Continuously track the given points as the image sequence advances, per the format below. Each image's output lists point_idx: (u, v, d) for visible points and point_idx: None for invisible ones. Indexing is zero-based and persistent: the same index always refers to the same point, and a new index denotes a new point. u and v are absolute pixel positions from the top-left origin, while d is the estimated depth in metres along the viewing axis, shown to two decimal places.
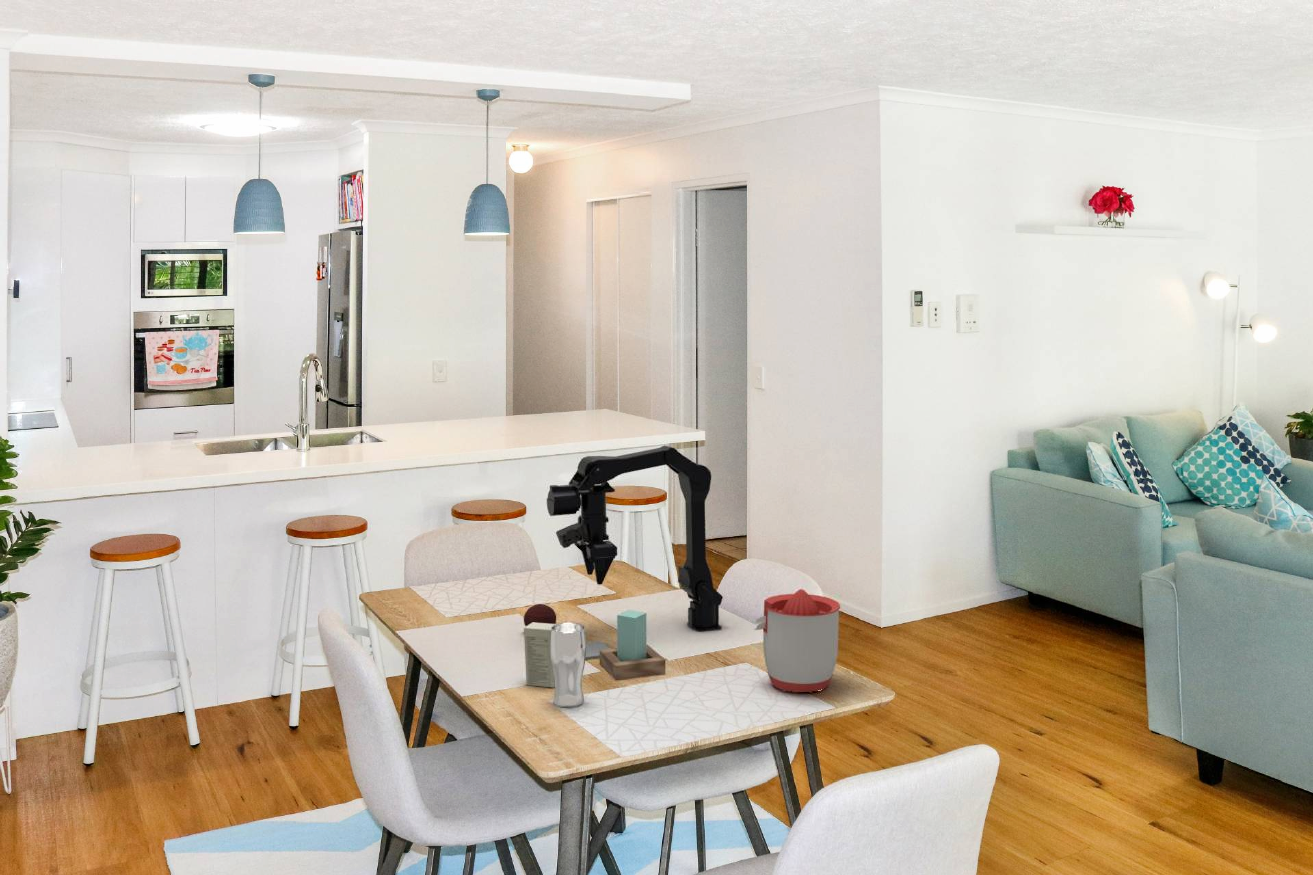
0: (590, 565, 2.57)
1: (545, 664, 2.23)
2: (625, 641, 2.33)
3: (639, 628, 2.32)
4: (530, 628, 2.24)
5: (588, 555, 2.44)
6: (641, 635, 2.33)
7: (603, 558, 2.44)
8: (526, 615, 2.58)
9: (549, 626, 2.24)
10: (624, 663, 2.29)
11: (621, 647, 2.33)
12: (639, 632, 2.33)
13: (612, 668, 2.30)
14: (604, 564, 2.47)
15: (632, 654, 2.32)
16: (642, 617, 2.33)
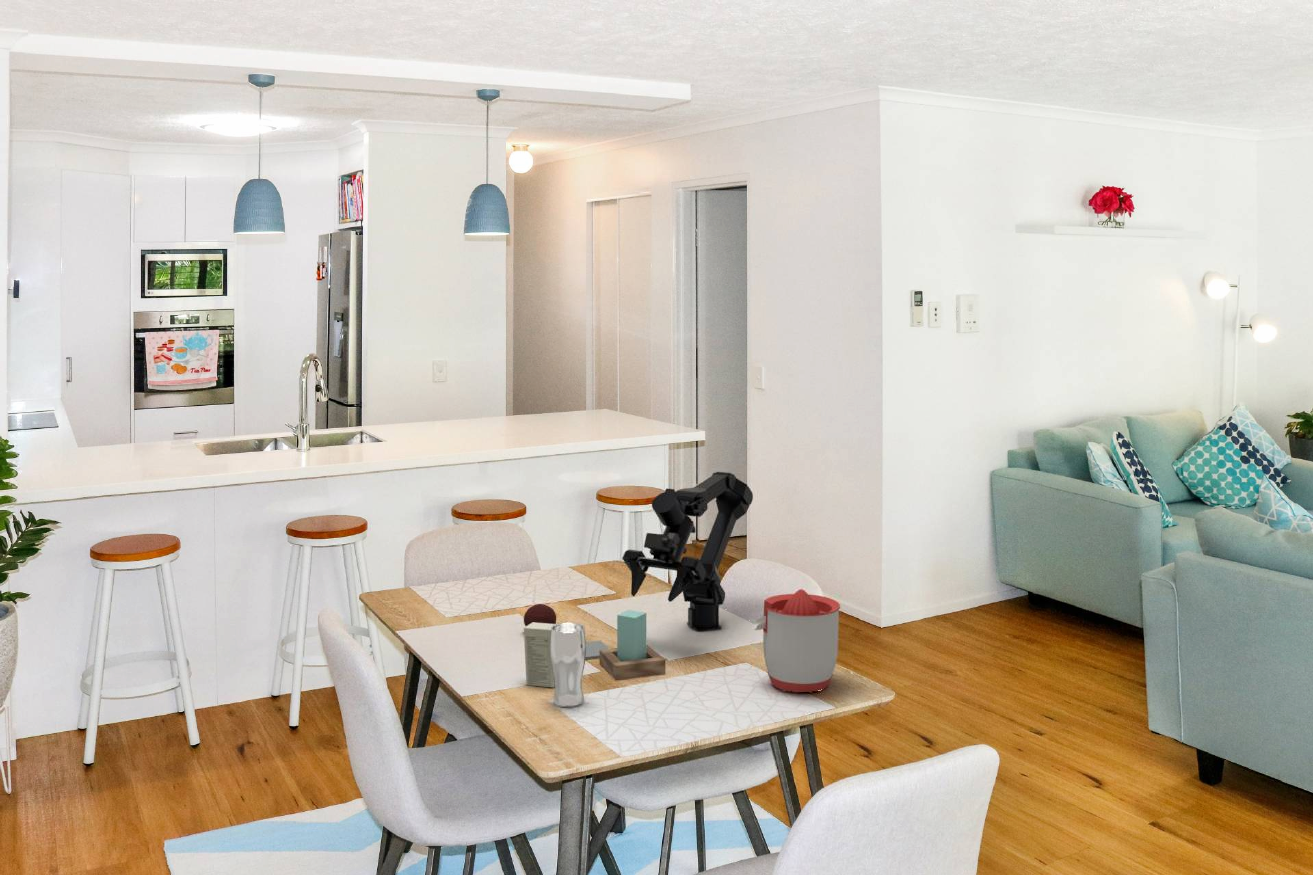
0: (636, 587, 2.44)
1: (545, 664, 2.23)
2: (625, 641, 2.33)
3: (639, 628, 2.32)
4: (530, 628, 2.24)
5: (686, 565, 2.39)
6: (641, 635, 2.33)
7: (693, 576, 2.40)
8: (526, 615, 2.58)
9: (549, 626, 2.24)
10: (624, 663, 2.29)
11: (621, 647, 2.33)
12: (639, 632, 2.33)
13: (612, 668, 2.30)
14: (683, 584, 2.41)
15: (632, 654, 2.32)
16: (642, 617, 2.33)
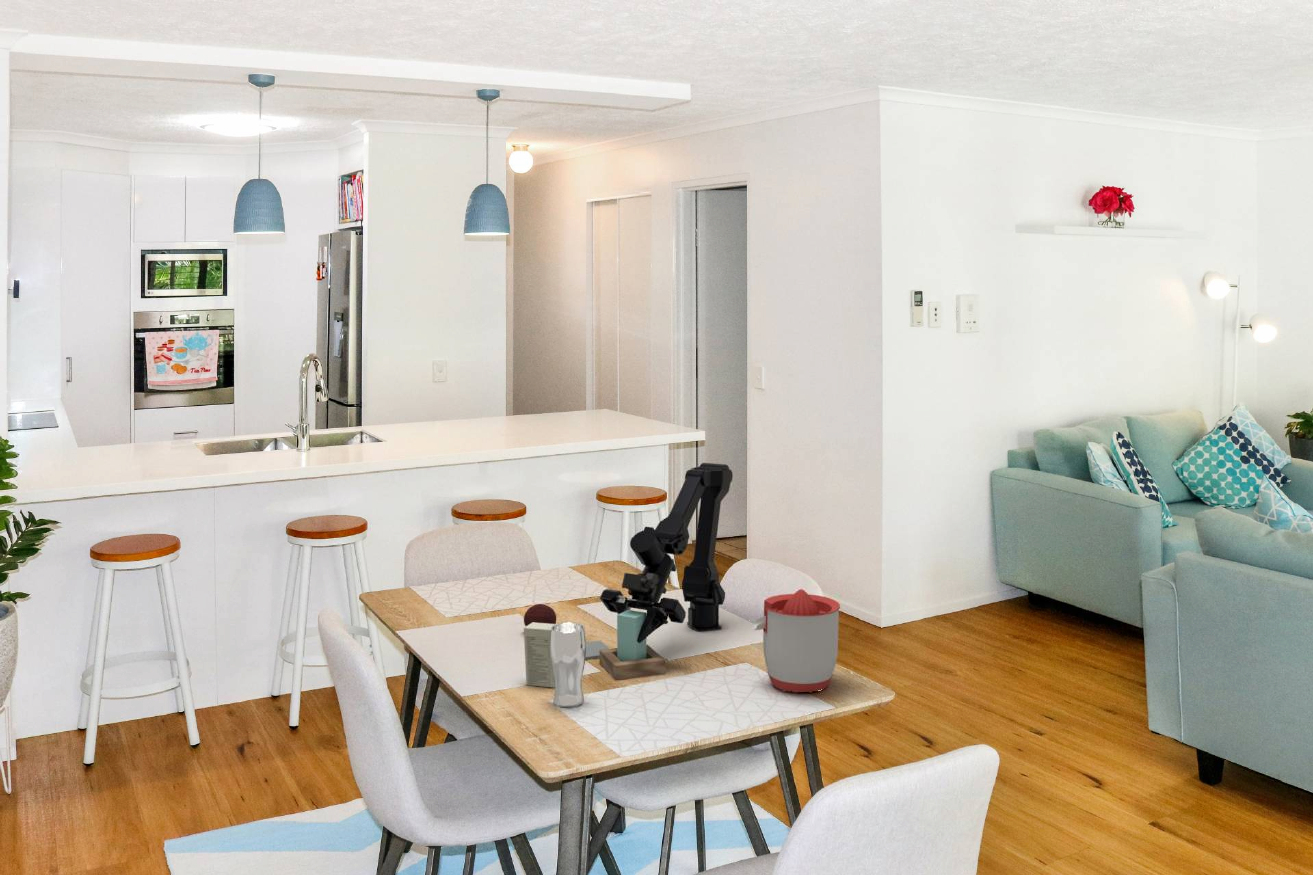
0: None
1: (545, 664, 2.23)
2: (625, 641, 2.33)
3: (639, 628, 2.32)
4: (530, 628, 2.24)
5: (665, 606, 2.32)
6: None
7: (663, 616, 2.34)
8: (526, 615, 2.58)
9: (549, 626, 2.24)
10: (624, 663, 2.29)
11: (621, 647, 2.33)
12: None
13: (612, 668, 2.30)
14: (653, 625, 2.35)
15: (632, 654, 2.32)
16: (642, 617, 2.33)
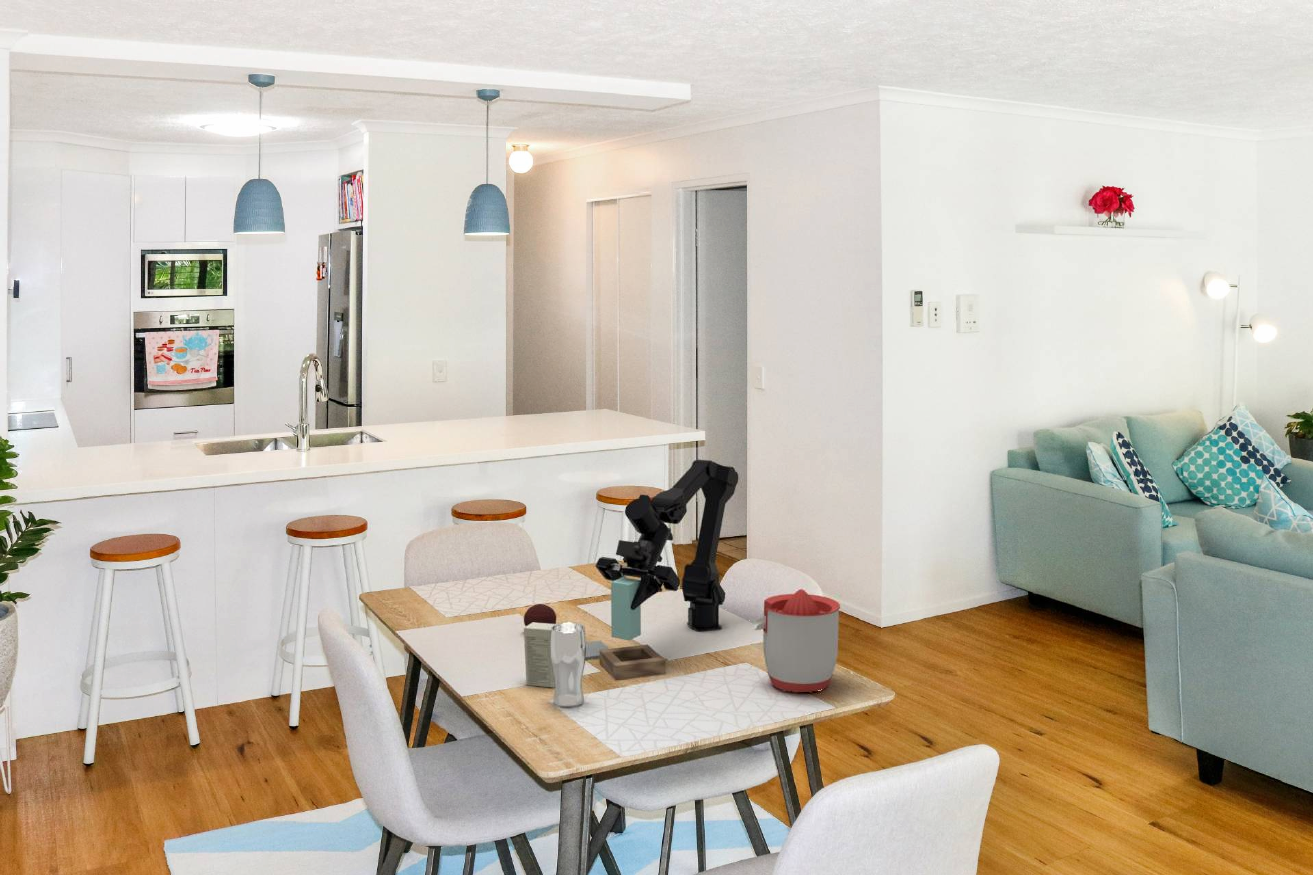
0: None
1: (545, 664, 2.23)
2: (619, 608, 2.33)
3: (632, 595, 2.32)
4: (530, 628, 2.24)
5: (658, 574, 2.31)
6: None
7: (657, 584, 2.34)
8: (526, 615, 2.58)
9: (549, 626, 2.24)
10: (624, 663, 2.29)
11: (615, 614, 2.33)
12: (632, 599, 2.32)
13: (612, 668, 2.30)
14: (647, 592, 2.34)
15: (626, 621, 2.32)
16: (636, 584, 2.33)
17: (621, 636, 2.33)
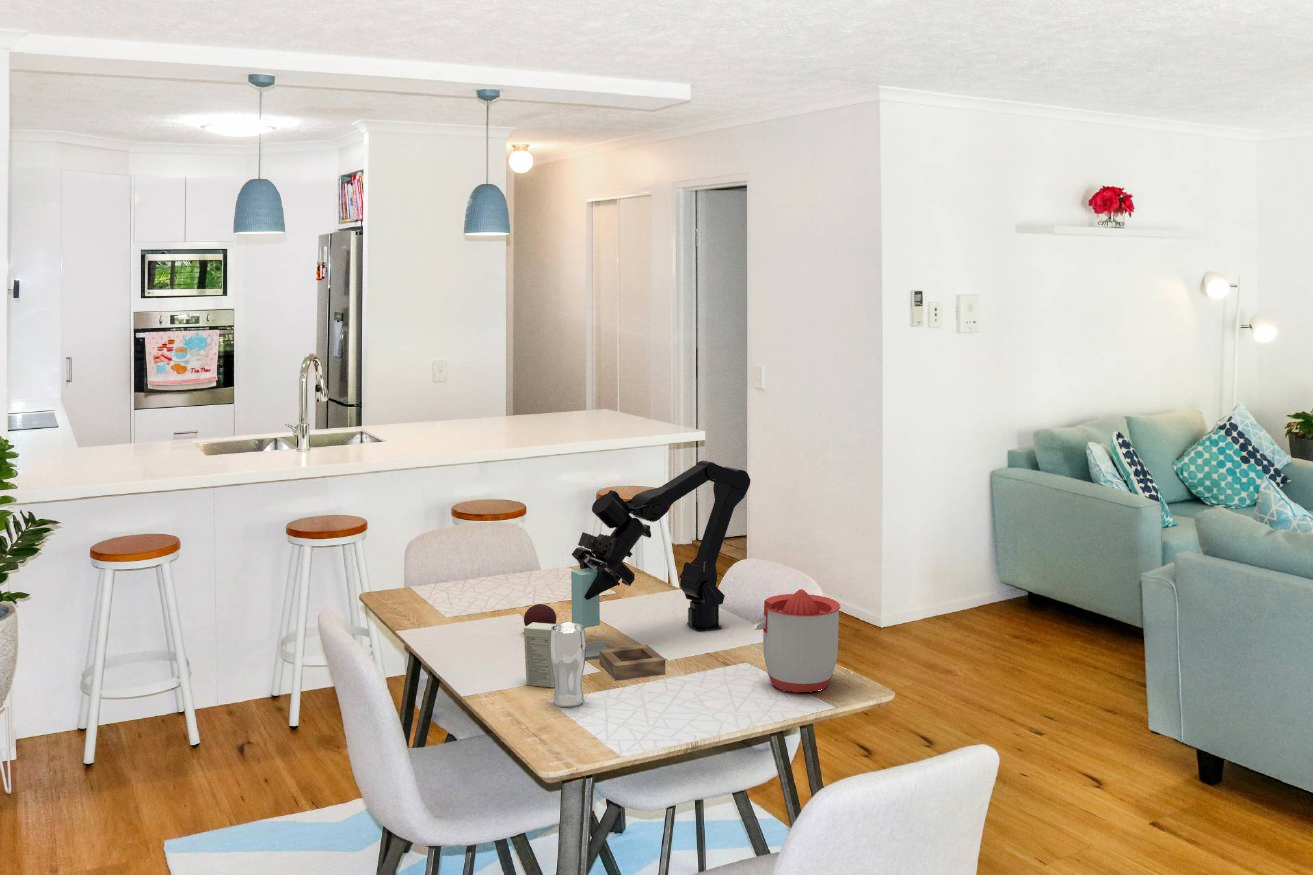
0: None
1: (545, 664, 2.23)
2: (576, 597, 2.44)
3: (587, 585, 2.42)
4: (530, 628, 2.24)
5: (608, 567, 2.39)
6: None
7: (612, 577, 2.41)
8: (526, 615, 2.58)
9: (549, 626, 2.24)
10: (624, 663, 2.29)
11: (574, 602, 2.45)
12: (587, 589, 2.42)
13: (612, 668, 2.30)
14: (604, 584, 2.43)
15: (580, 609, 2.42)
16: (592, 576, 2.43)
17: None
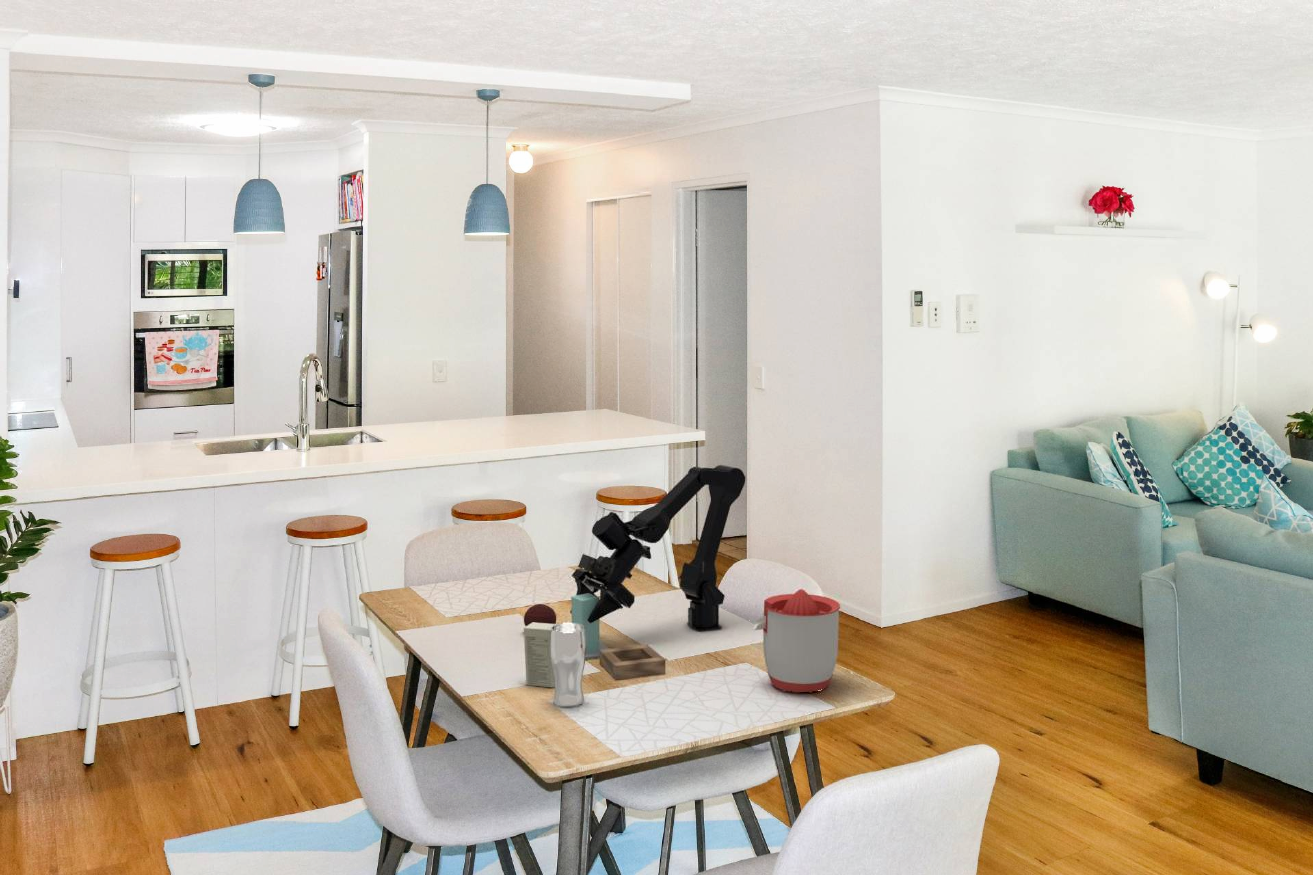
0: None
1: (545, 664, 2.23)
2: (576, 622, 2.44)
3: (587, 611, 2.43)
4: (530, 628, 2.24)
5: (608, 589, 2.39)
6: None
7: (615, 601, 2.41)
8: (526, 615, 2.58)
9: (549, 626, 2.24)
10: (624, 663, 2.29)
11: None
12: (587, 615, 2.43)
13: (612, 668, 2.30)
14: (607, 607, 2.42)
15: None
16: (592, 601, 2.43)
17: None
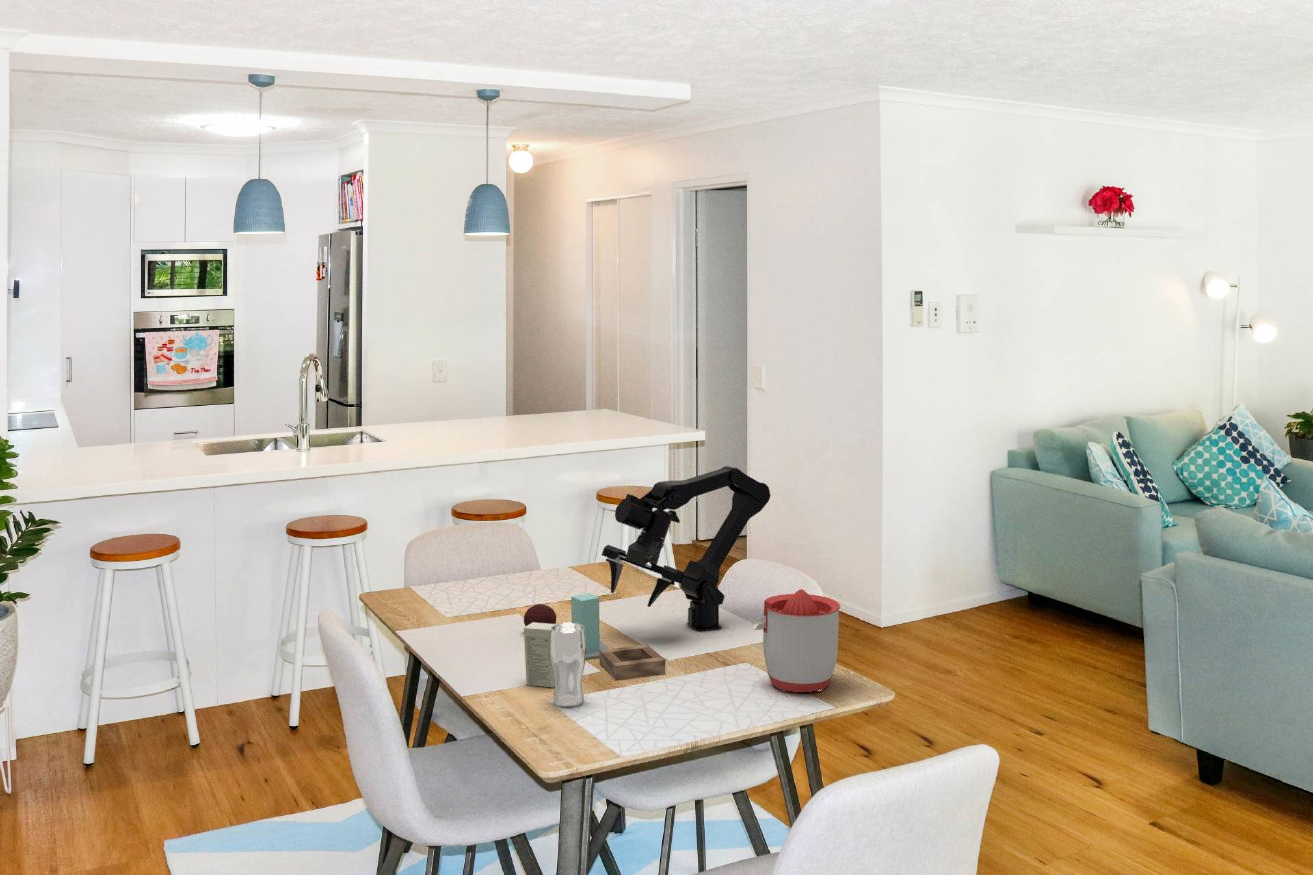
0: (615, 584, 2.54)
1: (545, 664, 2.23)
2: (576, 622, 2.44)
3: (587, 611, 2.43)
4: (530, 628, 2.24)
5: (666, 578, 2.48)
6: (591, 618, 2.44)
7: (672, 583, 2.51)
8: (526, 615, 2.58)
9: (549, 626, 2.24)
10: (624, 663, 2.29)
11: None
12: (587, 615, 2.43)
13: (612, 668, 2.30)
14: (661, 588, 2.52)
15: None
16: (592, 601, 2.43)
17: None
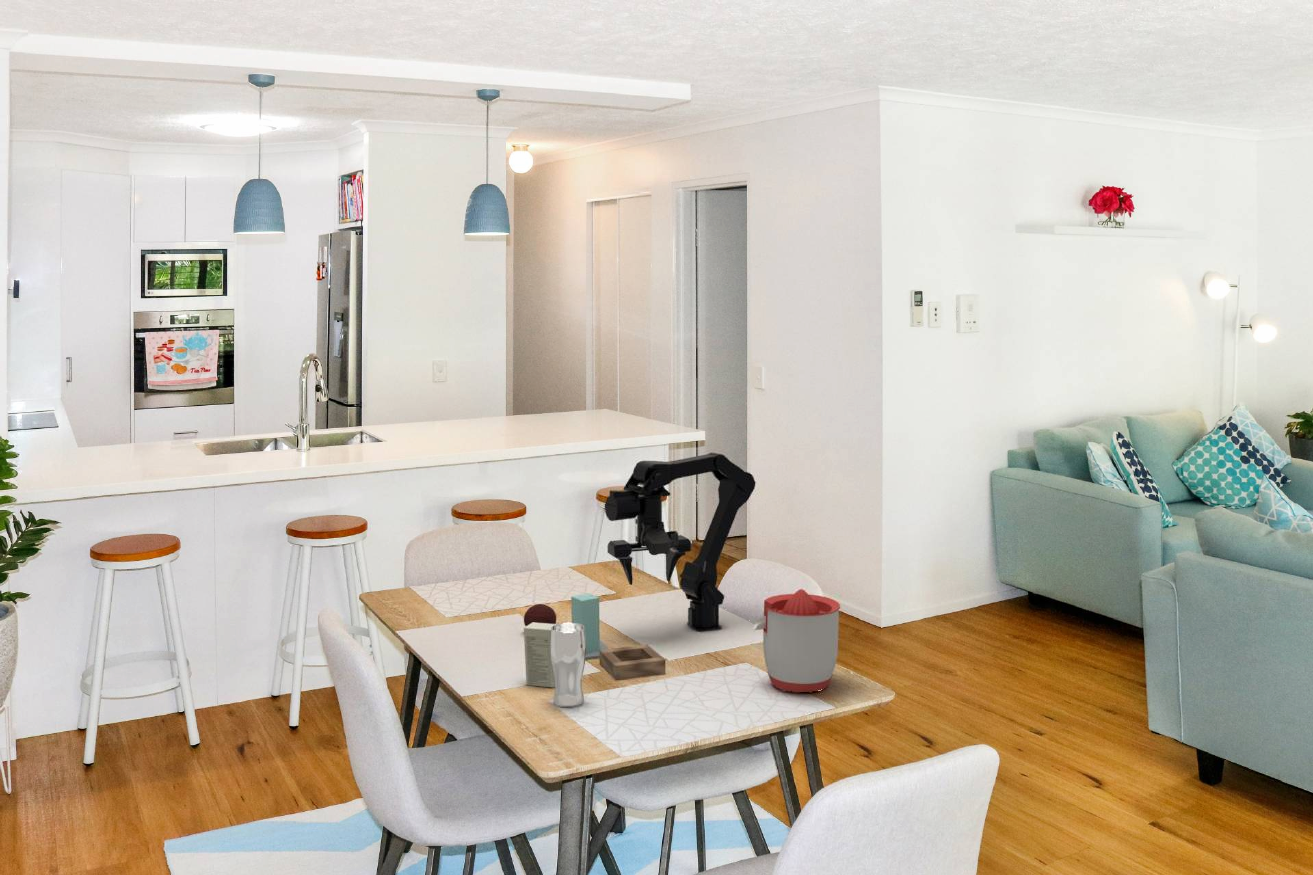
0: None
1: (545, 664, 2.23)
2: (576, 622, 2.44)
3: (587, 611, 2.43)
4: (530, 628, 2.24)
5: (683, 551, 2.54)
6: (591, 618, 2.44)
7: None
8: (526, 615, 2.58)
9: (549, 626, 2.24)
10: (624, 663, 2.29)
11: None
12: (587, 615, 2.43)
13: (612, 668, 2.30)
14: None
15: None
16: (592, 601, 2.43)
17: None
